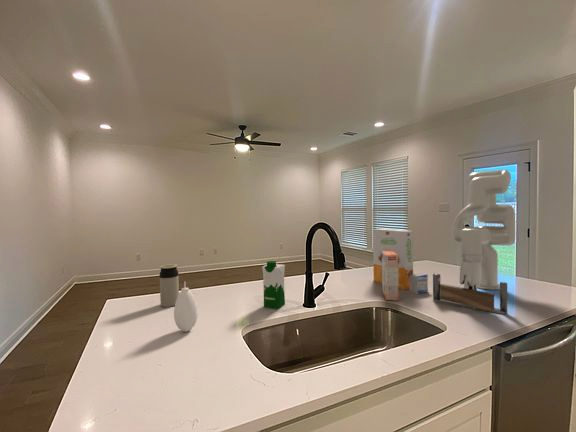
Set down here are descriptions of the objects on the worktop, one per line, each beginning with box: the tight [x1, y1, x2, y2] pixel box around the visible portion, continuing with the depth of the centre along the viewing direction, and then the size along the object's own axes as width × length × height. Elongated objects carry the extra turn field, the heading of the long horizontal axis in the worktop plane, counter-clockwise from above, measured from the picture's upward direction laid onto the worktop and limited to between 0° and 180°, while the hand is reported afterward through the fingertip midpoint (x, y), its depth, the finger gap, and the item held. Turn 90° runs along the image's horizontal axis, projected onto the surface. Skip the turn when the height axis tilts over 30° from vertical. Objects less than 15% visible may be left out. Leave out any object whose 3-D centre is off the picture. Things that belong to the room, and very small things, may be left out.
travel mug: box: [159, 263, 180, 308], centre depth 135 cm, size 8×8×18 cm
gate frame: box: [432, 273, 508, 315], centre depth 124 cm, size 4×27×12 cm, turn 48°
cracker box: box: [381, 251, 399, 302], centre depth 140 cm, size 14×6×21 cm, turn 168°
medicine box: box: [409, 273, 429, 295], centre depth 147 cm, size 8×4×9 cm, turn 117°
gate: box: [440, 283, 495, 311], centre depth 122 cm, size 2×20×6 cm, turn 37°
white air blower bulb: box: [173, 281, 199, 333], centre depth 105 cm, size 8×8×18 cm
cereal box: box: [372, 228, 414, 291], centre depth 162 cm, size 22×6×30 cm, turn 26°
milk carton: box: [261, 260, 286, 310], centre depth 130 cm, size 9×9×20 cm
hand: (471, 300), depth 124 cm, fingers closed
